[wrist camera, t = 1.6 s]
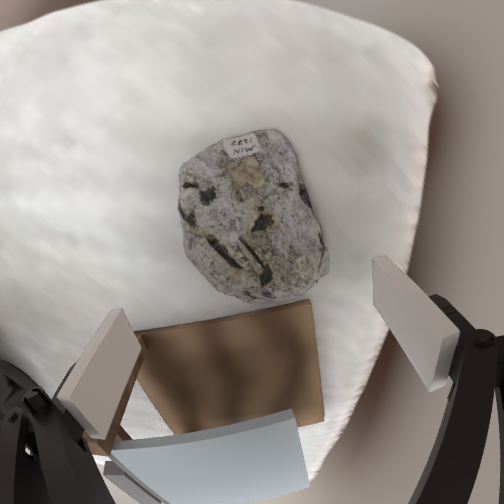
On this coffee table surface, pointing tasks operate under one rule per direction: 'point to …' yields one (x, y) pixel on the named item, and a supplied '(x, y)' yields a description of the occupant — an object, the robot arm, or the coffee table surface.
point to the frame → (226, 372)
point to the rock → (251, 219)
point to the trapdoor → (213, 464)
